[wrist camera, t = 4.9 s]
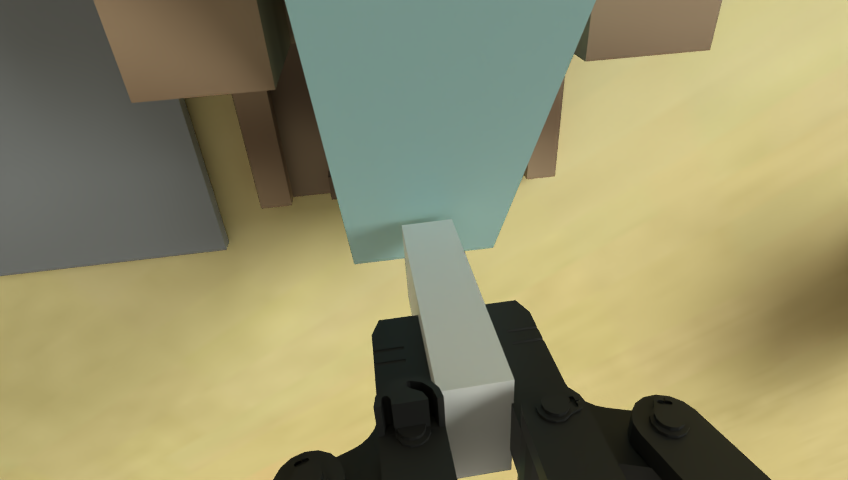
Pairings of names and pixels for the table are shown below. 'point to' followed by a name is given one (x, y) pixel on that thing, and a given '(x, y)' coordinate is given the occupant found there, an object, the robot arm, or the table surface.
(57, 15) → the felt mat
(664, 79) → the table surface
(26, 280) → the table surface
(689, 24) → the pocket board
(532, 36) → the bar
